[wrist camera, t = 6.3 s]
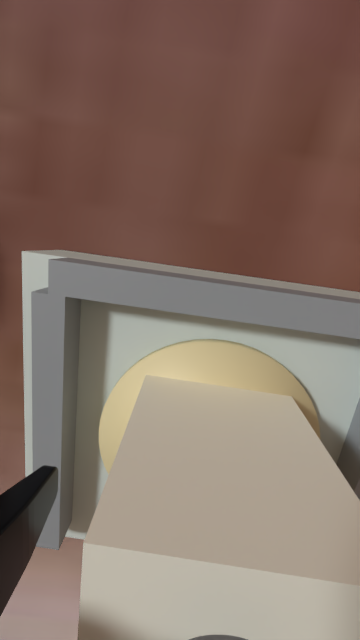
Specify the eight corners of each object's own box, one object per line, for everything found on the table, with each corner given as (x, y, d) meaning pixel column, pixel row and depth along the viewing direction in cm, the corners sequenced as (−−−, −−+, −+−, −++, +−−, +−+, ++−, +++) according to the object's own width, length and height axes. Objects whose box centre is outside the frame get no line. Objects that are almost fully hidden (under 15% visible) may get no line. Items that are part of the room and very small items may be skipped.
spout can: (246, 556, 11) (313, 946, 5) (127, 538, 11) (44, 900, 5) (291, 396, 9) (493, 706, 3) (145, 374, 9) (49, 635, 3)
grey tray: (316, 517, 15) (360, 615, 11) (57, 478, 15) (8, 560, 11) (393, 297, 11) (495, 322, 8) (61, 249, 12) (-5, 251, 8)
